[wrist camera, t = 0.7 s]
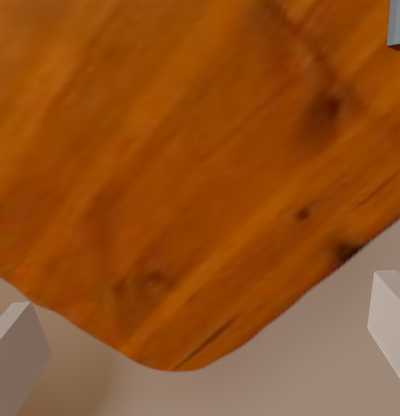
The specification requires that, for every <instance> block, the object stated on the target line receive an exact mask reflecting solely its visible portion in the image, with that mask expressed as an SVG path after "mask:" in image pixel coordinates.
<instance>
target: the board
mask: <svg viewBox="0 0 400 416" xmlns="http://www.w3.org/2000/svg"><path fill="white" fill-rule="evenodd" d="M397 44H400V0H390V13H389V25H388V38H387V46H390V45H397Z"/></svg>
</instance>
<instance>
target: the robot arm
mask: <svg viewBox="0 0 400 416" xmlns="http://www.w3.org/2000/svg"><path fill="white" fill-rule="evenodd" d="M367 329H368V330H369V332H370V334H371V335H372V337H373V338H374V340H375V341H376V343H377V344H378V346H379V347H380V349H381V350H382V352H383V353H384V355H385V356H386V358H387V360H388V361H389V363H390V364H391V365H392V367H393V369H394V370H395V372H396V373H397V375H398V376H399V378H400V273H399V272H398V271H397V270H396V269H394V270H383V271H374V278H373V286H372V295H371V302H370V311H369V319H368V327H367ZM51 354H52V351H51V348H50V346H49V343H48V341H47V339H46V336H45V334H44V331H43V329H42V327H41V324H40V322H39V319H38V317H37V315H36V312H35V310H34V307H33V305H32V303H31V301H29V302H18V303H12V304H11V305H10V306H9V307H8V309H7V310H6V311H5V312H4V313H3V314H2V315H1V317H0V416H17V414H18V412H19V411H20V409H21V407H22V405H23V404H24V402H25V400H26V398H27V397H28V395H29V393H30V391H31V390H32V388H33V386H34V384H35V383H36V381H37V379H38V377H39V375H40V374H41V372H42V370H43V368H44V367H45V365H46V363H47V361H48V360H49V358H50V356H51Z"/></svg>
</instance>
